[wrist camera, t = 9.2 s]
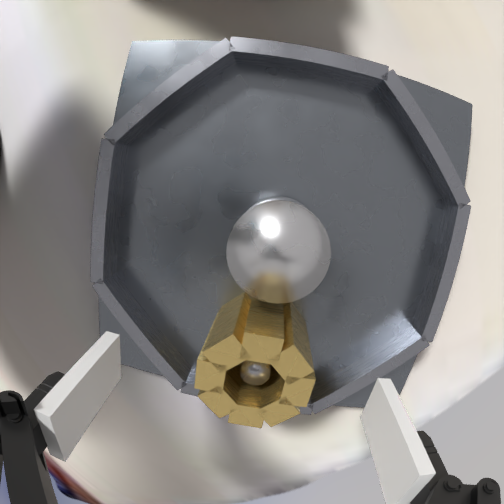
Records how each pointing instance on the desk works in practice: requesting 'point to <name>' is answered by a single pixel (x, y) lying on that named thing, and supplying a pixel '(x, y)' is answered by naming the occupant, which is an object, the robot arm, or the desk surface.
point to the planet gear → (258, 350)
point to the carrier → (278, 207)
